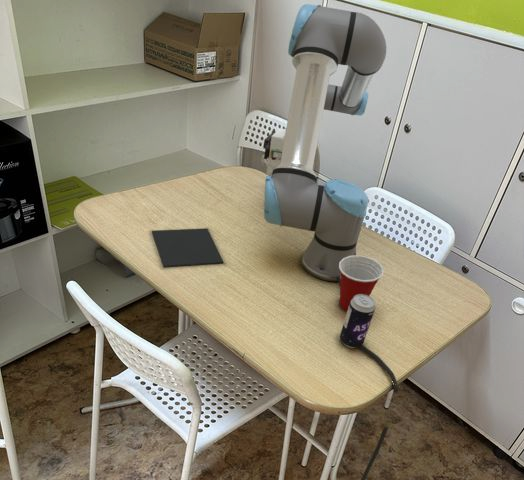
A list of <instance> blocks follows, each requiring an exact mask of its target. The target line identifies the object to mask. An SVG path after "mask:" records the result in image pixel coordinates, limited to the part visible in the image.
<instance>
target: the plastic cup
mask: <svg viewBox="0 0 524 480" xmlns="http://www.w3.org/2000/svg"><path fill="white" fill-rule="evenodd" d="M339 269H340V271H341V287H340V286H339V307H340V308H341V309H342V310H343V311H345V312H347V311H348V307H349V304H350V301H351V300H352V299H353V297H354V296H355V295H358V294H364V295H367V296H370V297H371V294H372V292H373V290H374V289H375V286H376V285H377V283H378V281H379V280H380V279H381V278H382V277H383V275H384V273H385V272H384V271H385V269H384V267H383V266H382V264H381V262H379V261H377V260H376V259H375V258H372V257H369V256H366V255H359V254H356V255H354V256H348V257H345V258H343V259H342V260H341V261H340V262H339Z"/></svg>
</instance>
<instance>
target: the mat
mask: <svg viewBox="0 0 524 480" xmlns="http://www.w3.org/2000/svg"><path fill="white" fill-rule="evenodd" d="M151 234H152V237H153V239H154V243H155V246H156V248H157V251H158V254H159V257H160V261H161V263H162V266H163V268H176V267H189V266H190V267H191V266H203V265H205V266H206V265H222V264H225V263H224V259H223V258H222V256H221V254H220V252H219V249H218V248H217V246H216V243H215V241H214V239H213V238H212V235H211V233H210V231H209V229H208V228H207V227H206V228H184V229H183V228H182V229H159V230H156V229H155V230H151Z"/></svg>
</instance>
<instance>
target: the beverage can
mask: <svg viewBox="0 0 524 480" xmlns="http://www.w3.org/2000/svg"><path fill="white" fill-rule="evenodd" d="M375 311H376V301H375V300H374V298H373V297H371V295H370V296H367V295H364V294H358V295H355V296H354V297H353V299H352V300H351V301H350V304H349V307H348V311H346V315H345V318H344V321H343V324H342V328H341V330H340V334H339V340H340V341H341V342H342V344H343V345H344V346H345V347H347V348H351V349H356V348H359V347H360V346H361V345H364V342H365V340H366V337H367V334H368V331H369V329H370V326H371V324H372V320H373V316H374V315H375Z"/></svg>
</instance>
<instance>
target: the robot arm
mask: <svg viewBox="0 0 524 480" xmlns="http://www.w3.org/2000/svg"><path fill="white" fill-rule="evenodd" d="M287 49H288V50H287V53H288V55H289V56H290V57H291V58H292V59H291V64H292V66H293V67H294V69H295V70H296V71H295V77H294V83H293V88H292V92H291V93H292V94H291V98H290V105H289V111H288V115H287V116H288V117H287V121H286V126H285V129H286V132H285V138H284V143H283V149H282V155H281V160H280V164H279V165H278V166H276V167H275V168H274V169H273V172H272V176H271V175H266V176H265V180H264V181H265V182H264V183H265V184H264V199H263V218H264V220H265V221H266V223H269V224H271V225H272V224H273V225H276V226H279V227H287V228H292V229H293V228H294V229H298V230H305V231H310V232H314V233H313V237H312V239H311V241H310V242H309V244H308V246H307V248H306V249H305V250H304V252H303V254H302V258H301V266H302V268H303V269H304V270H305V271H306V272H307V273H308V274H309V275H311V276H313V277H315V279H316V278H317V279H319V280H321V281H326V282H332V283H338V285H339V288H340V287H341V271H340V269H339V262H340V261H341V260H342V259H343V258H345V257H348V256H354V255H357V245H358V241H359V237H360V235H361V231H362V226H363V223H364V220H365V217H366V216H367V210H368V204H369V197H368V194H367V193H366V192H365V190H364V189H362V188H361V187H360V186H359V185H356V184H354V183H352V182H350V181H347V180H345V179H340V178H334V179H333V178H331V179H328V180H327V181H326V182H325V183H324V185H321V184H317V181H318V175H317V174H316V173H315V171H314V166H315V165H314V163H315V159H316V154H317V148H318V142H319V137H320V132H321V125H322V121H323V115H324V110H325V111H331V112H336V113H341V114H346V115H351V116H358V117H359V116H360V117H361V116H363V115H364V114H365V112H366V110H367V105H368V102H369V101H368V100H369V92H368V91H367V90H368V88H369V85H370V84H371V82H372V79H373V78H374V75H375V74H377V73H378V72H379V71H380V70H381V68H382V66H383V64H384V62H385V60H386V57H387V42H386V38H385V35H384V32H383V30H382V29H381V28H380V25H378V24H377V22H376V21H375V20H374V19H373V18H371V17H370V16H369V15H366V14H365V13H362V12H358V11H356V12H355V11H350V10H345V9H339V8H334V7H328V6H323V5H321V4H309V3H308V4H307V3H306V4H303V5H302V6H301V7H300V8H299V9H298V12H297V14H296V17H295V21H294V23H293V27H292V31H291V36H290V40H289V44H288V48H287ZM339 65H341V66H347V69H346V72H345V75H344V78H343V82H342V84H341V85H335V84H330V83H329V82H330V77H331V76H332V75H334V74H336V72H337V70H338V68H339V67H338V66H339ZM275 132H276V131H275V130H272V131H271V133H270V134H269V135H267V137H266V138H264V140H263V147H262V148H263V149H264V154H263V155H264V156H263V159H264V160H267V159H269V152H270V145H271V138H272V135H273V134H274V133H275ZM358 348H359V349H361V351H363V352H364V353H365V354H367V355H368V356H370V357H371V358H373V360H375V361H376V362H377V363H378V364H379V365H380V366H381V368H382V369H383V370H384V371H385V372H386V371H387V372H386V373H387V374H388V376H389V378H390V381H391V380H392V381H393V383H394V385H393V383H392V381H391V384H392V390H393V392H394V393H395V394H398V393H399V388H398V387H399V386H398V381H397V378H396V376H395V374H394V373H393V371H392V370H391V368H390V367H389V366H388V365H387V364H386V363H385V362H384V360H382V358H381V357H379V356H378V355H377V354H376V353H375V352H374V351H372V350H371V349H369V348H368V347H366V346H365V345H364V344H363V345H361V346H360V347H358ZM395 384H396V385H395ZM388 430H389V427H384V428H382V431H381V434H380V437H379V439H378V441H377V443H376V446H375V448H374V451H373V453H372V455H371V457H370V459H369V461H368V463H367V466H366V467H365V470H364V471H363V474H362V476H361V479H360V480H366V479H367V476H368V475H369V473H370V470H371V468H372V467H373V464H374V462H375V460H376V458H377V456H378V454H379V452H380V449H381V447H382V445H383V443H384V441H385V438H386V435H387V432H388Z"/></svg>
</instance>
